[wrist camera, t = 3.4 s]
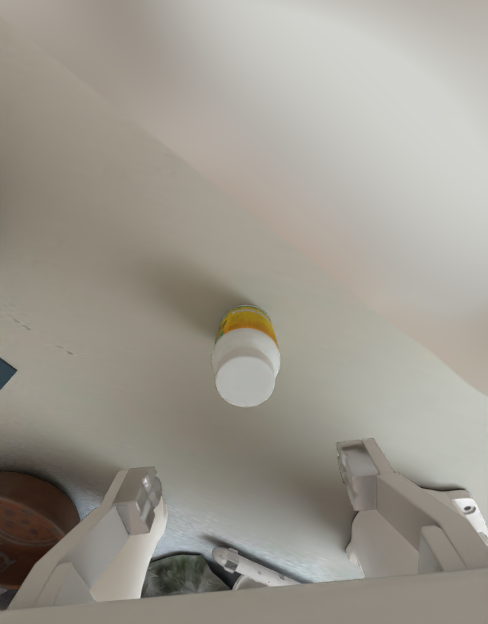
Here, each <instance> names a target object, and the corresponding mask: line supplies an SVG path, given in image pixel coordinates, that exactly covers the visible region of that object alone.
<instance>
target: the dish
mask: <svg viewBox="0 0 488 624" xmlns="http://www.w3.org/2000/svg"><path fill="white" fill-rule="evenodd" d="M79 523H80V517H79V513H78V511H77V509H76V507H75V506H74V504H73V503H72V501H71V500H70V499H69V498H68V497H67V496H66V495H65V494H64V493H63V492H61V491H60V490H58V489H57V488H55V487H54V486H52V485H50V484H49V483H47V482H45V481H43V480H41V479H38V478H35V477H32V476H29V475H26V474H22V473H17V472H0V588H5V589H18V590H19V589H20V587H21V585H22V584H23V582H24V581H25V579H26V577H27V576H28V574H29V573H30V571H31V570H32V568H33V566H34V565H35V563H37V562H38V561H39V560H40V559H41V558H42V557H43V556H44V555H45V554H46V553H47V552H48V551H50V550H51V549H52V548H53V547H54V546H55V545H56V544H57V543H58V542H59V541H60V540H61V539H63V538H64V537H65V536H66V535H67V534H68V533H69V532H70V531H71V530H72V529H73V528H74V527H75V526H77V525H78V524H79Z"/></svg>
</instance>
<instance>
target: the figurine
mask: <svg viewBox="0 0 488 624" xmlns="http://www.w3.org/2000/svg"><path fill="white" fill-rule="evenodd" d="M7 590H8V589H5V588H0V594H2V593H4V592H6V591H7Z"/></svg>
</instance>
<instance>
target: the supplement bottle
mask: <svg viewBox="0 0 488 624" xmlns="http://www.w3.org/2000/svg"><path fill="white" fill-rule="evenodd" d="M211 365H212V369H213V372H214V374H215V376H216V377H215V384H216V389H217V391H218V393H219V394H220V396H221V397H222V398H223V399H224V400H225V401H226V402H228V403H230V404H232V405H235V406H239V407H252V406H256V405H259V404H261V403H263V402H264V401H265V400H267V399H268V398H269V397H270V395H271V394H272V392H273V390H274V387H275V377H276V376H277V374H278V371H279V368H280V353H279V349H278V345H277V341H276V337H275V333H274V329H273V325H272V322H271V320H270V318H269V316H268V315H267V314H266V313H265V312H264V311H263V310H262V309H260V308H258V307H256V306H253V305H239V306H237V307H234V308H233V309H231V310H230V311H228V312H227V313H226V314H225V316H224V317H223V319H222V321H221V324H220V327H219V331H218V334H217V338H216V341H215V344H214V347H213V351H212V355H211Z"/></svg>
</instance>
